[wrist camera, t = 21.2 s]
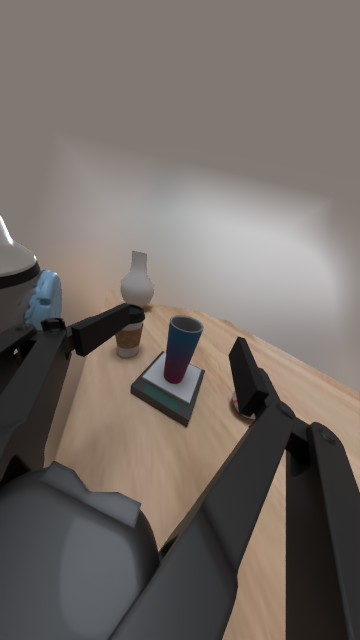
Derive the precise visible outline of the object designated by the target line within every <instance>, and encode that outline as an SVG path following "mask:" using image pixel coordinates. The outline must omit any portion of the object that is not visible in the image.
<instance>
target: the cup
mask: <svg viewBox="0 0 360 640" xmlns="http://www.w3.org/2000/svg"><path fill="white" fill-rule="evenodd" d="M203 328H204V327H203V325H202V323H201V322H199V321H198V320H196V319H194V318H192V317H188V316H181V315H179V316H174V317H172V318H171V319H170V325H169V333H168V342H167V350H166V358H165V366H164V378H165V380H166V381H167V382H169V383H171V384H178V383H180V382H181V381H182V380H183V378H184V375H185V373H186V370H187V368H188V365H189V363H190V360H191V358H192V356H193V353H194V351H195V348H196V346H197V343H198V341H199V338H200V336H201V333H202V331H203Z"/></svg>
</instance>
